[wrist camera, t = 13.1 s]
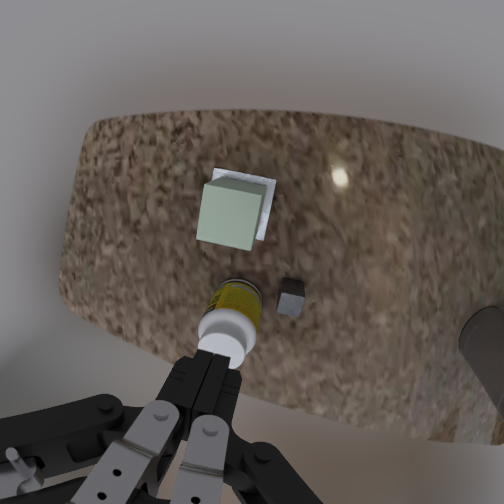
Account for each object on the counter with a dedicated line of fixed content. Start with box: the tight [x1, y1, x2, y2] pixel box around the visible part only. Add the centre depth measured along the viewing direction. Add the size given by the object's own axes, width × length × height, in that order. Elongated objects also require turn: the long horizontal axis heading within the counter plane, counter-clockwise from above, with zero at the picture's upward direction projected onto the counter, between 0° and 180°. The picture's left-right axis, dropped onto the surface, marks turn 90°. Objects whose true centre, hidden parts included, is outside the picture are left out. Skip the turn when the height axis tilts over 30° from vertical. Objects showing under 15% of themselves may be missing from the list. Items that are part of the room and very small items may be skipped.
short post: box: [276, 278, 305, 317], centre depth 36 cm, size 3×3×4 cm
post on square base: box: [212, 168, 276, 240], centre depth 32 cm, size 7×7×7 cm
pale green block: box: [196, 177, 267, 251], centre depth 31 cm, size 5×5×7 cm
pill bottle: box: [198, 279, 262, 369], centre depth 34 cm, size 6×6×11 cm
